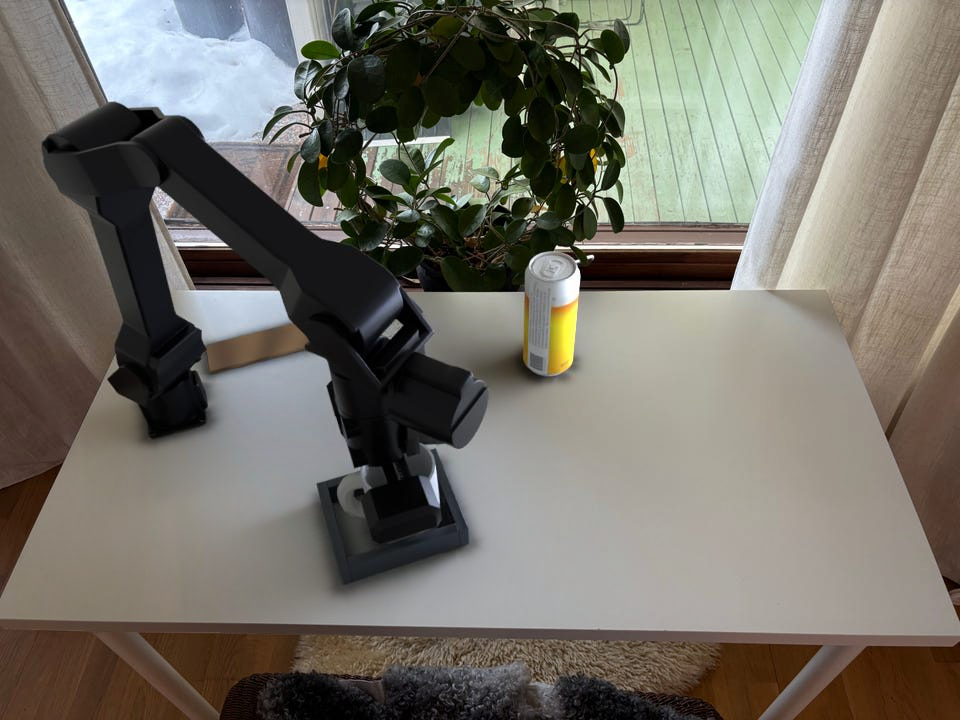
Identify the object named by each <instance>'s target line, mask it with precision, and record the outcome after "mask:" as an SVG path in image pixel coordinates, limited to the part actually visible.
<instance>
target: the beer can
mask: <svg viewBox="0 0 960 720" xmlns="http://www.w3.org/2000/svg"><path fill="white" fill-rule="evenodd" d="M580 282H581V273H580V269H579V268H578V264H577V262H576V260H575V259H574V258H573V257H571V256H570V255H568V254H566V253H564V252H560V251H543V252H540V253H538V254H536V255H534V256H533V257H532V258H531V259H530V261H529V263H528V265H527V267H526V268H525V271H524V301H523V303H524V304H523V346H522V359H523V362H524V365H525V366H526V367H527V368H528V369H529V370H530V371H532V372H533V373H534V374H537V375H538V376H543V377H554V376H558V375H560V374H563V373H564V372H565V371H567V370H568V369H569V368H570V367H571V365H572V364H573V360H574V349H575V337H576V329H577V328H576V326H577V317H578V315H577V314H578V306H579V305H578V303H579V294H580V293H579V292H580Z"/></svg>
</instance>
